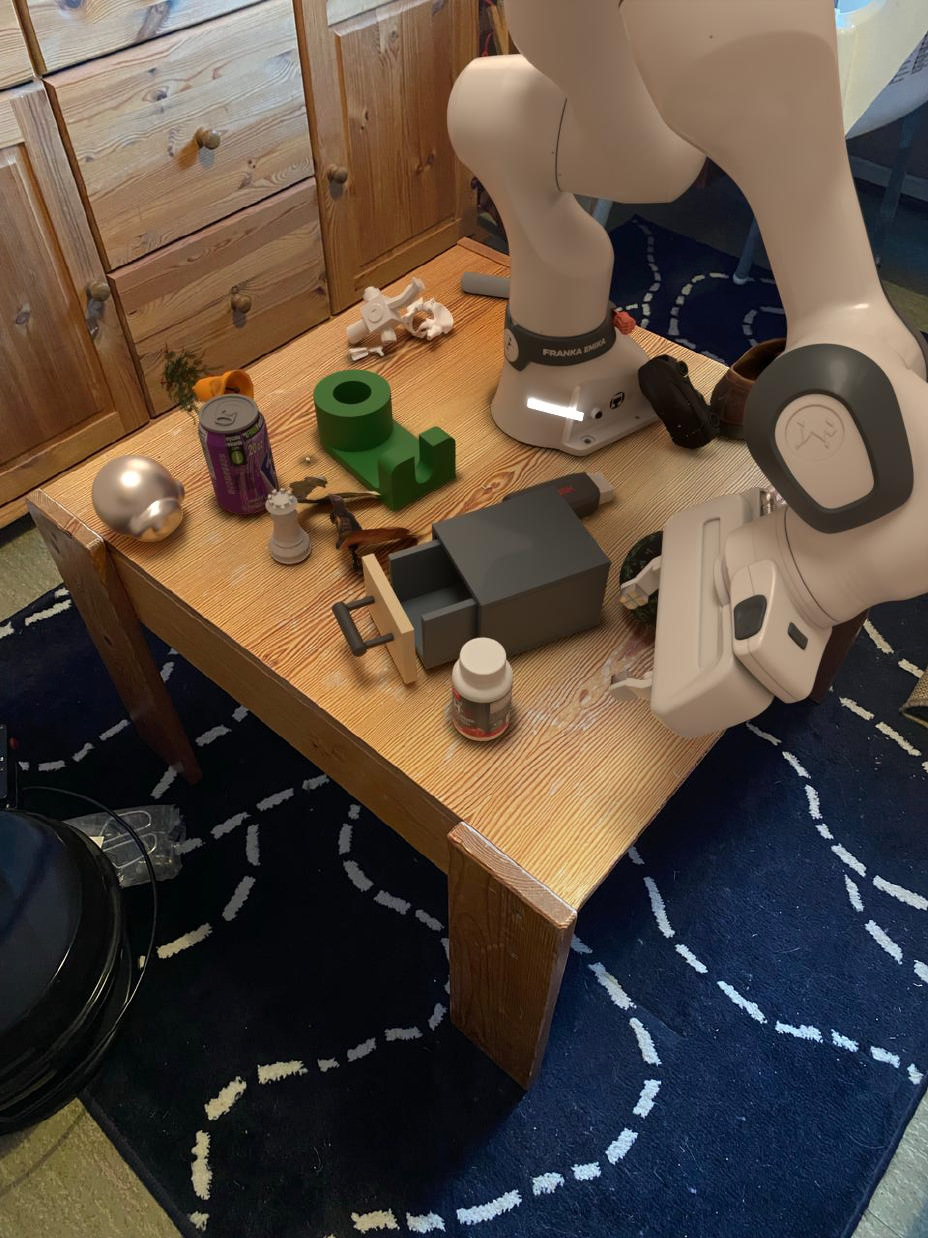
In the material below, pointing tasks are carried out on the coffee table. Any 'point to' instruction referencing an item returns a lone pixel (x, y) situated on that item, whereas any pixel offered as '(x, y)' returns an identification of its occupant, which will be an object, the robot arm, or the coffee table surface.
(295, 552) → the rook chess piece
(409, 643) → the drawer
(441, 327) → the anatomical pelvis
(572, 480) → the usb drive
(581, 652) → the coffee table surface
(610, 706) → the coffee table surface
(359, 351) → the syringe
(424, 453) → the green bracket
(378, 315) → the white mechanical part
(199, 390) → the christmas decoration
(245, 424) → the beverage can
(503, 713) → the pill bottle
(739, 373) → the shoe
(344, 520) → the figurine
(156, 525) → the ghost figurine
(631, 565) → the decorative stone
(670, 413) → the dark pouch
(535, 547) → the cabinet
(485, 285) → the gray half cylinder
